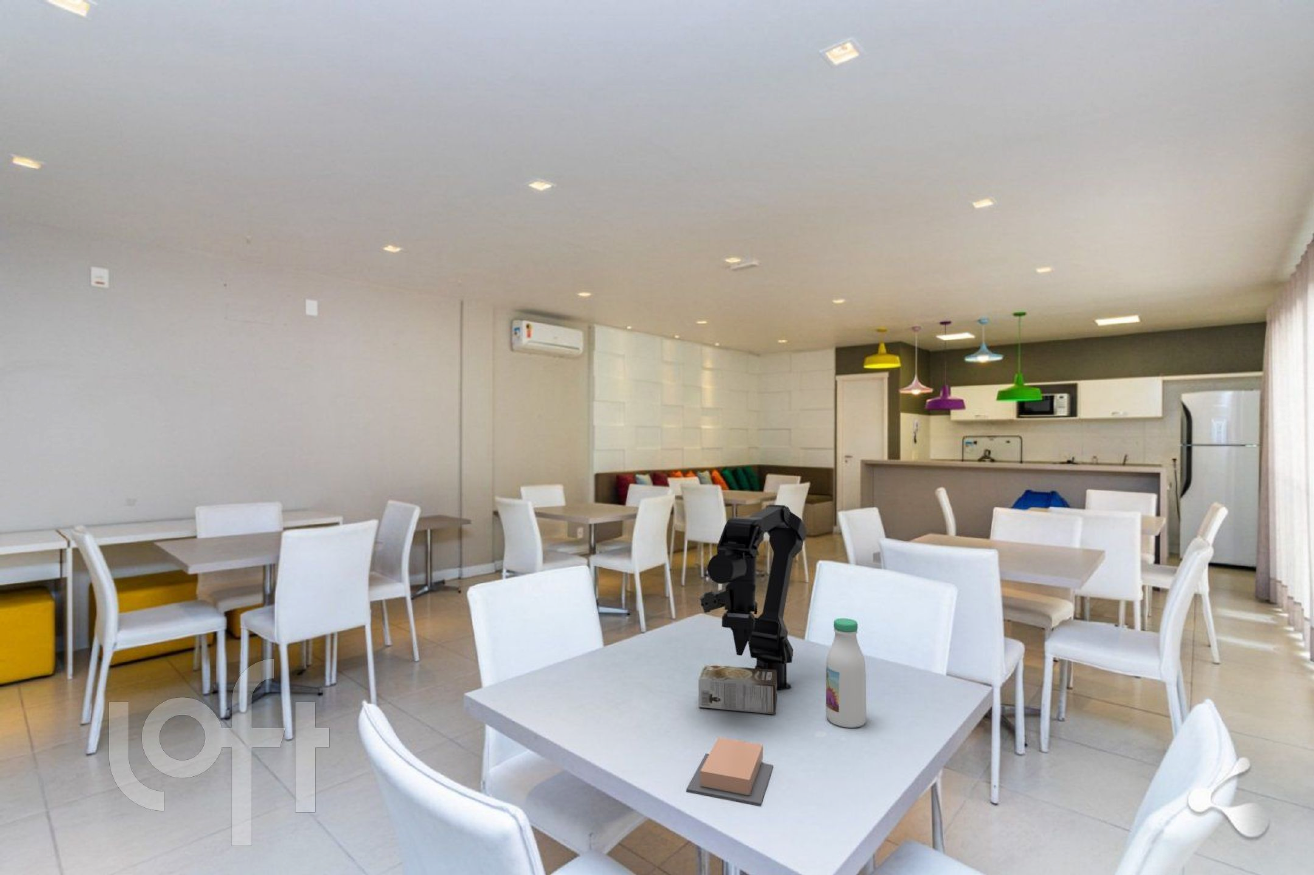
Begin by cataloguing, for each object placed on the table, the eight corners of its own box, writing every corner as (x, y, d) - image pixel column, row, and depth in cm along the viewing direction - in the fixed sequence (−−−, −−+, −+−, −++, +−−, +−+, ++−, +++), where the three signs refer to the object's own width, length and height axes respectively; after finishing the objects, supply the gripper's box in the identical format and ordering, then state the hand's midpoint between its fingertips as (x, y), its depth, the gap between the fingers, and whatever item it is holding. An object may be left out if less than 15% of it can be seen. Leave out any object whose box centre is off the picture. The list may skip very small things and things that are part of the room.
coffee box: (704, 662, 140) (777, 668, 136) (704, 691, 140) (777, 697, 136) (698, 678, 131) (776, 684, 127) (698, 708, 131) (776, 715, 127)
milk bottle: (866, 714, 128) (865, 617, 128) (866, 731, 120) (865, 628, 120) (827, 709, 130) (827, 613, 130) (824, 725, 123) (824, 624, 123)
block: (718, 737, 112) (700, 770, 100) (762, 744, 109) (749, 779, 98) (718, 751, 112) (700, 786, 100) (762, 759, 109) (749, 796, 98)
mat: (705, 755, 111) (705, 753, 111) (773, 767, 107) (773, 764, 107) (686, 791, 100) (686, 788, 100) (760, 805, 96) (760, 803, 96)
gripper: (708, 570, 141) (706, 640, 139) (697, 582, 122) (694, 663, 121) (758, 573, 138) (756, 645, 137) (754, 586, 120) (752, 669, 119)
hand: (739, 654), depth 129 cm, fingers closed
